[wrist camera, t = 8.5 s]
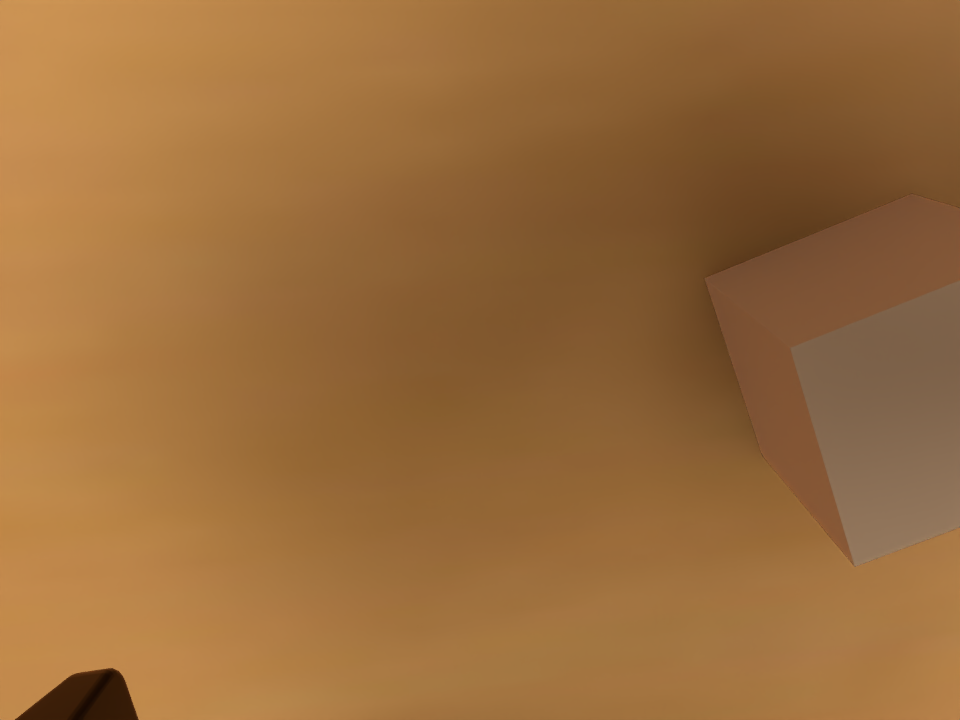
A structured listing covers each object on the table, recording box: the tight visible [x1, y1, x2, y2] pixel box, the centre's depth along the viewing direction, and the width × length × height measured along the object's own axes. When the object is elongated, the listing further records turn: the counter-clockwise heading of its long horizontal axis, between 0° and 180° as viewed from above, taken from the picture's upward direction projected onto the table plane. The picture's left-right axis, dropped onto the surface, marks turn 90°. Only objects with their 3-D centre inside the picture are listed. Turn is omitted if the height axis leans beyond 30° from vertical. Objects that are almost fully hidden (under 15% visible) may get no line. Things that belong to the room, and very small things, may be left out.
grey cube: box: [704, 194, 960, 567], centre depth 18 cm, size 5×5×5 cm
